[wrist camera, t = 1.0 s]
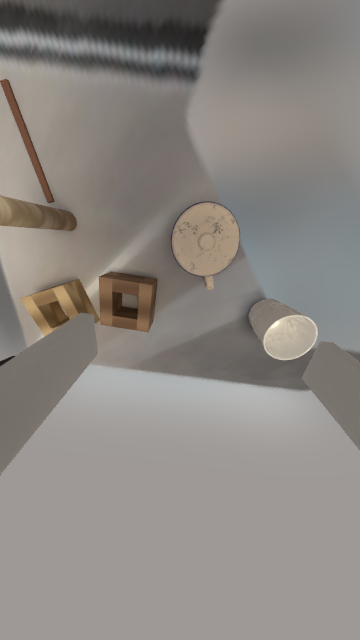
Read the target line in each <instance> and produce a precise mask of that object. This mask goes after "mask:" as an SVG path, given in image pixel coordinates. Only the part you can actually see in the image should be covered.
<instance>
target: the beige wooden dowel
mask: <svg viewBox="0 0 360 640" xmlns="http://www.w3.org/2000/svg"><path fill="white" fill-rule="evenodd" d="M0 225H1V226H13V227H26V228H39V229H52V230H65V231H72V230H74V229H75V228H76V225H77V222H76V219H75V217H74V215H73V214H72V213H70V212H68V211H63V210H59V209H55V208H51V207H46V206H42V205H38V204H33V203H29V202H25V201H21V200H16V199H12V198H8V197H4V196H0Z"/></svg>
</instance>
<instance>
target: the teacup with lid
mask: <svg viewBox="0 0 360 640" xmlns="http://www.w3.org/2000/svg"><path fill="white" fill-rule="evenodd" d="M239 243H240V231H239V226H238V223H237V221H236V219H235V217H234V216H233V214H232V213H231V212H230V211H229V210H228V209H227V208H226V207H224V206H223V205H221V204H218V203H215V202H200V203H197V204H194V205H192V206H190V207H189V208H187V209H186V210H185V211H184V212H183V213H182V214H181V215H180V216H179V218H178V219H177V221H176V223H175V225H174V227H173V230H172V235H171V247H172V252H173V255H174V257H175V259H176V261H177V262H178V264H179V265H180V266H181V267H182V268H183V269H184V270H185V271H187V272H188V273H190V274H193V275H196V276H203V277H204V282H205V287H206V290H208V291H209V290H213V288H214V280H213V275H215V274H217V273H219V272H221V271H222V270H224V269H225V268H226V267H227V266H228V265H229V264H230V263H231V262H232V261H233V259H234V257H235V256H236V253H237V251H238V248H239Z"/></svg>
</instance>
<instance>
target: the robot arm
mask: <svg viewBox="0 0 360 640" xmlns="http://www.w3.org/2000/svg"><path fill="white" fill-rule="evenodd" d="M97 354H98V353H97V343H96V332H95V322H94V314H87V313H79V314H78V315H76V316H75V317H73V318H72V319H70V320H69V321H67V322H66V323H64V324H63V325H61V326H60V327H58V328H57V329H56V330H54V331H53V332H51V333H50V334H48V335H47V336H45V337H44V338H42V339H41V340H39V341H38V342H36V343H35V344H33V345H32V346H30V347H29V348H27V349H26V350H24V351H23V352H21V353H20V354H18V355H17V356H12V357H9V358H7V359H5V360H2V361H0V475H1V473H2V472H3V471H4V470H5V468H6V467H7V466H8V465H9V463H10V462H11V461H12V460H13V459H14V457H15V456H16V455H17V454H18V452H19V451H20V450H21V448H22V447H23V446H24V445H25V443H26V442H27V441H28V440H29V439H30V437H31V436H32V435H33V434H34V432H35V431H36V430H37V428H38V427H39V426H40V425H41V424H42V422H43V421H44V420H45V419H46V417H47V416H48V415H49V414H50V412H51V411H52V410H53V409H54V407H55V406H56V405H57V404H58V402H59V401H60V400H61V399H62V398H63V396H64V395H65V394H66V393H67V391H68V390H69V389H70V388H71V386H72V385H73V384H74V382H75V381H76V380H77V379H78V378H79V376H80V375H81V374H82V373H83V371H84V370H85V369H86V368H87V366H88V365H89V364H90V363H91V362H92V360H93V359H94V358H95V357H96V355H97ZM302 379H303V380H304V382H305V383H306V384H307V385H308V387H309V388H310V389H311V390H312V391H313V393H314V394H315V395H316V396H317V398H318V399H319V400H320V402H321V403H322V404H323V405H324V406H325V408H326V409H327V410H328V411H329V413H330V414H331V415H332V416H333V417H334V419H335V420H336V421H337V422H338V424H339V425H340V426H341V427H342V429H343V430H344V431H345V432H346V433H347V435H348V436H349V437H350V439H351V440H352V441H353V442H354V444H355V445H356V446H357V447H358V449H359V450H360V362H359V361H358V360H357V359H355V358H354V357H352V356H351V355H350V354H348V353H347V352H345V351H344V350H343V349H341V348H340V347H338V346H337V345H336V344H334V343H331V342H322V341H320V343H319V345H318V347H317V349H316V351H315V353H314V355H313V357H312V359H311V361H310V363H309V365H308V367H307V369H306V371H305V373H304V375H303V377H302Z"/></svg>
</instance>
